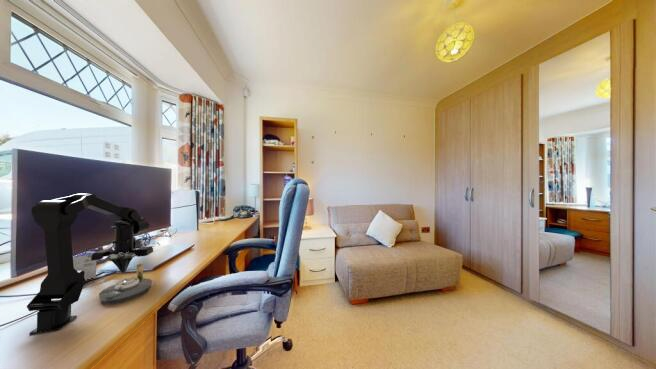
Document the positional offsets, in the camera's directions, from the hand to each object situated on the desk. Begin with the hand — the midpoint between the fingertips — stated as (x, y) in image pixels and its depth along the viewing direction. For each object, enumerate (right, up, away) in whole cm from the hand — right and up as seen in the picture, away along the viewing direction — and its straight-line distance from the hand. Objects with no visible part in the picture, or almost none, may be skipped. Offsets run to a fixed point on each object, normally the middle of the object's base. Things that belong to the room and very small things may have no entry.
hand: (123, 272), depth 86 cm
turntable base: (+8, -6, -6) cm, 12 cm away
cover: (+8, -3, -6) cm, 11 cm away
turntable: (+8, -5, -5) cm, 10 cm away
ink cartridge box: (-25, -6, +4) cm, 26 cm away
